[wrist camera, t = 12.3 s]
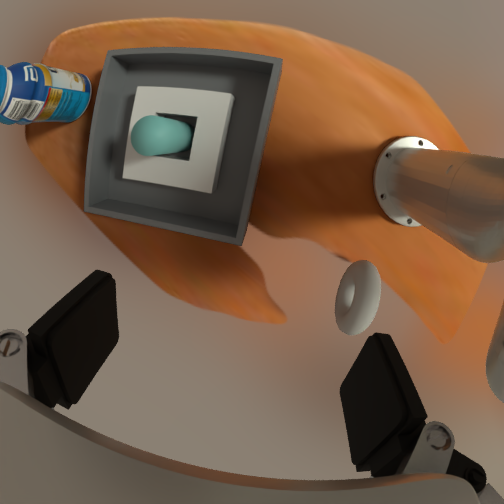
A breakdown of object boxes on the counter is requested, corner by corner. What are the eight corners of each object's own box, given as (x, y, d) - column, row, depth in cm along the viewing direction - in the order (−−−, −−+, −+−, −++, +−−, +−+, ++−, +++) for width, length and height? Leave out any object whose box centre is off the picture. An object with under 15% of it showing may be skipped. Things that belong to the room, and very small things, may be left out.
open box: (281, 72, 29) (282, 58, 24) (246, 230, 37) (241, 245, 32) (129, 60, 29) (107, 50, 24) (106, 201, 37) (83, 211, 32)
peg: (187, 116, 31) (157, 107, 22) (201, 142, 33) (175, 142, 23) (161, 132, 32) (124, 130, 23) (175, 157, 34) (141, 163, 24)
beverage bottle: (55, 126, 33) (-42, 136, 15) (59, 79, 30) (-33, 71, 11) (92, 119, 33) (-13, 121, 14) (97, 68, 30) (-1, 44, 11)
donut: (348, 246, 37) (370, 278, 28) (370, 251, 37) (396, 284, 28) (326, 306, 41) (338, 349, 32) (347, 310, 41) (362, 352, 32)
